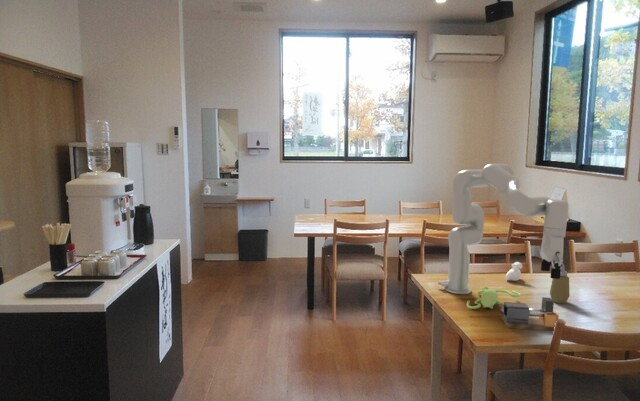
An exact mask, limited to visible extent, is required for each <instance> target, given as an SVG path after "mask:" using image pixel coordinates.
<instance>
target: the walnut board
mask: <svg viewBox="0 0 640 401" xmlns="http://www.w3.org/2000/svg"><path fill="white" fill-rule="evenodd" d="M501 320H502V321H503V323H504V324H505V325H506V327H507V328H508V329H520V330H521V329H522V330H537V331H547V332H548V331H549V332H555V331H554V327H546V326H544V325H543V323H542V322H541V321H540V320H539V317H529V319H528V324H517V323H506V321H505V320H504V318H503V315H501Z"/></svg>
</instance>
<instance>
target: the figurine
mask: <svg viewBox="0 0 640 401" xmlns="http://www.w3.org/2000/svg"><path fill="white" fill-rule="evenodd" d="M498 293H505V294H508V295H509V296H510V297H512V298H518V297H521V295H522V294H521V293H520V292H518V291H515V290H514V289H513V290H511V291H509V290H506V289H492V288H489V287H488V286H485V287H483V288H482V289H480V290H478V291H477V294H479V295H480V298H478V299H476V300H475V301H474V304H475V305H474V306H473V305H472V306H471V305H470V302H471V301H470V300H467V302H466V307H467V308H468V309H469V310H476V309H480V308H481V307H482V308H484V309H486V308H489V309H490V310H493V308H494V305H496V304H497V305H501V306H502V307H501V308H500V312H502V314H503V311H504V302H501V301H498Z"/></svg>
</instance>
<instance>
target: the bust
mask: <svg viewBox="0 0 640 401" xmlns="http://www.w3.org/2000/svg"><path fill="white" fill-rule="evenodd" d="M522 268H523V264H522V263H521V262H519V261H515V262H514V263H512V264H511V269H509V271H507V273H506V275H505V280H506V281H514V282H517V281H519V280H520V279H521V277H522V272H521V269H522Z"/></svg>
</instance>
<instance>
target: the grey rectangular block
mask: <svg viewBox="0 0 640 401" xmlns="http://www.w3.org/2000/svg"><path fill="white" fill-rule="evenodd" d="M541 298H542V299H541V308H530V307H529V317H534V318H539V317H544V316H545V314H550V315H554V312H553V310H554V303H555V302H554V301H553V300H552V299H551V297H541Z"/></svg>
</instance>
